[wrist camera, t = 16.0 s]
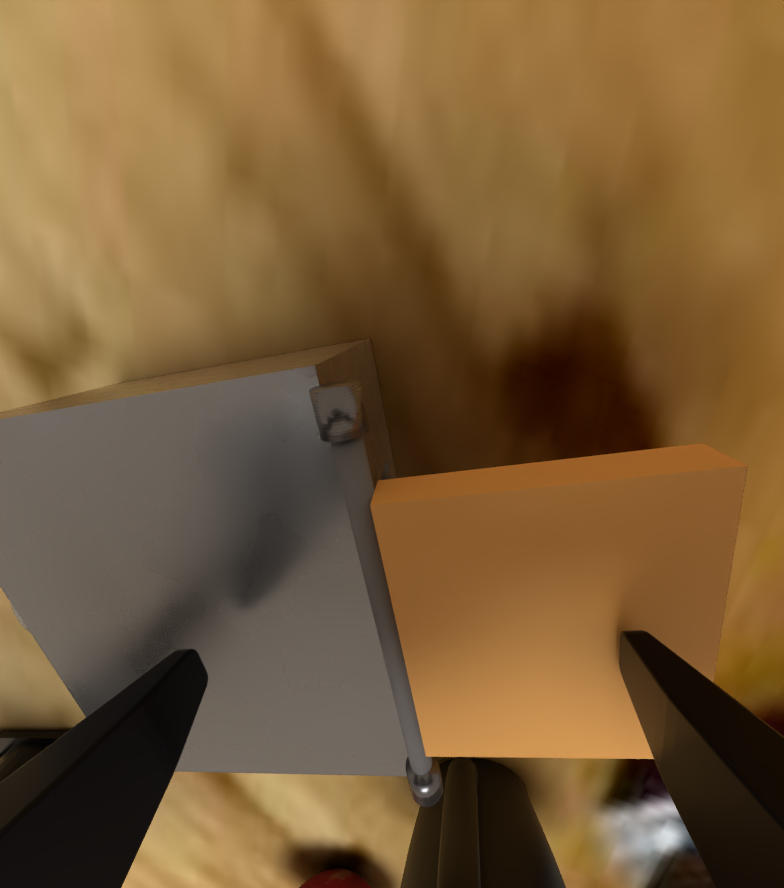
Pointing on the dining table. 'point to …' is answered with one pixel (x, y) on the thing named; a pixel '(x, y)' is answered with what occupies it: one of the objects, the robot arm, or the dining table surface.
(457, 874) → the mug
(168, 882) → the dining table surface
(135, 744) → the robot arm
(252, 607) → the block
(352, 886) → the apple
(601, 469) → the tan flat slab
